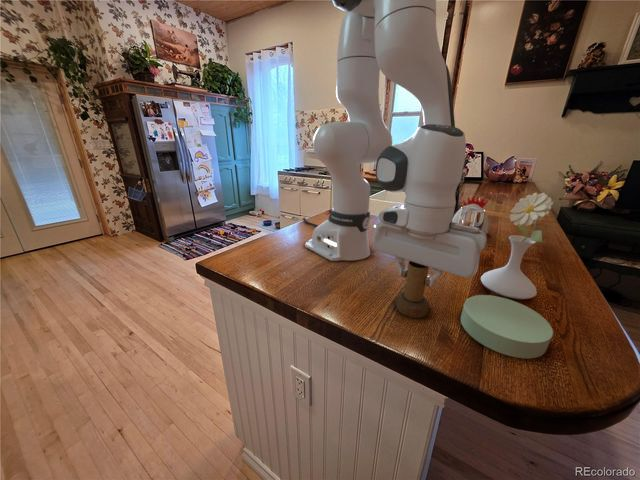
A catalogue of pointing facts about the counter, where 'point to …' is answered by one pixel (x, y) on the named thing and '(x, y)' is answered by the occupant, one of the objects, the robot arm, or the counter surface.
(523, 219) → the flower in vase
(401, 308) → the mortar and pestle
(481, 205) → the kitchen timer
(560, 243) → the counter surface
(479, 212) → the beer glass
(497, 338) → the disc
